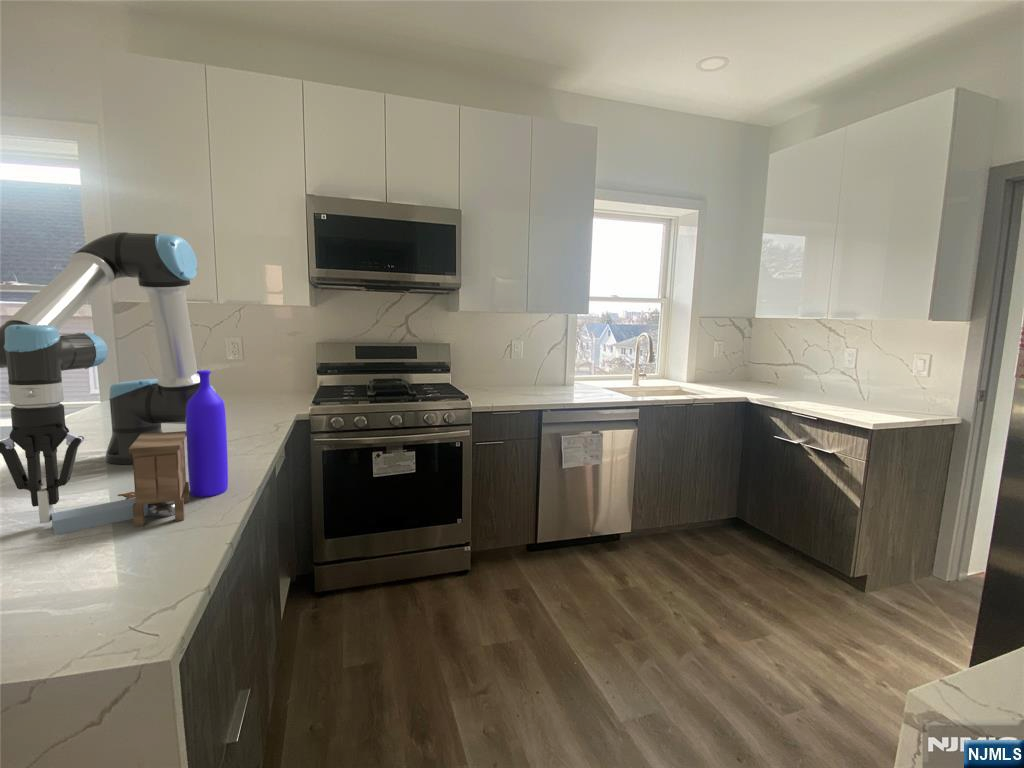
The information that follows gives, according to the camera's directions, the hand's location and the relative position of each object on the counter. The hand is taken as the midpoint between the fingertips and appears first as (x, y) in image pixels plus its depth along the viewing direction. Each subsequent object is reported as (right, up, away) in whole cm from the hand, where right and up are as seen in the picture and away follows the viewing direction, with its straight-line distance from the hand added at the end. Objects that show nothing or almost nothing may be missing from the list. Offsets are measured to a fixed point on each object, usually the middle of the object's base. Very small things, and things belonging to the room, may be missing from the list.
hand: (47, 520), depth 99 cm
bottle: (+19, +1, +23) cm, 29 cm away
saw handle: (+9, +1, +26) cm, 27 cm away
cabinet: (+17, -1, +9) cm, 19 cm away
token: (+17, -1, +9) cm, 20 cm away
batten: (+8, -1, +4) cm, 9 cm away
